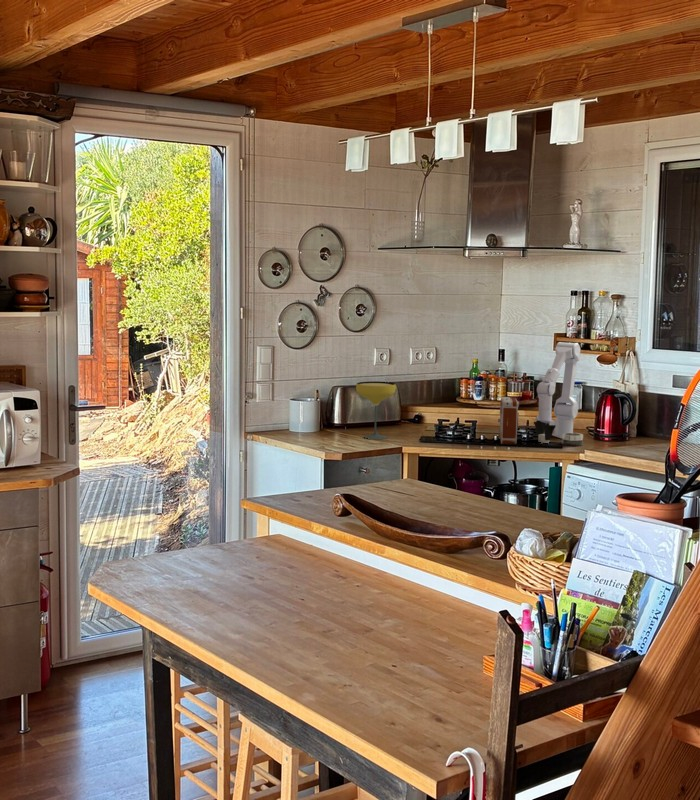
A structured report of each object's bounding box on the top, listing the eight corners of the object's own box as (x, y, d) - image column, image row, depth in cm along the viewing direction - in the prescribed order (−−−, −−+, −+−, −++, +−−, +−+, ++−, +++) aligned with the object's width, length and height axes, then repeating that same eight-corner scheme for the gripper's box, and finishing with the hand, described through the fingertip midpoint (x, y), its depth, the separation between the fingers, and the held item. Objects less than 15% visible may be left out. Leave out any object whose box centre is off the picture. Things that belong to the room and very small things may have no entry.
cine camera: (516, 438, 464) (518, 395, 461) (519, 445, 445) (520, 400, 442) (496, 437, 465) (497, 394, 462) (498, 445, 446) (499, 400, 443)
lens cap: (536, 441, 455) (536, 433, 454) (546, 441, 456) (546, 433, 456) (541, 443, 450) (541, 435, 450) (551, 443, 451) (551, 435, 451)
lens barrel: (558, 442, 452) (558, 433, 452) (576, 442, 455) (577, 432, 454) (567, 446, 444) (568, 436, 443) (586, 445, 446) (586, 435, 445)
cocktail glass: (388, 433, 472) (389, 380, 469) (400, 440, 455) (400, 385, 452) (351, 435, 468) (351, 381, 464) (361, 441, 450) (362, 386, 447)
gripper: (529, 406, 457) (528, 436, 459) (544, 411, 443) (543, 441, 445) (544, 406, 459) (543, 435, 461) (558, 410, 445) (557, 441, 447)
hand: (544, 438), depth 453 cm, fingers open, 7 cm apart
